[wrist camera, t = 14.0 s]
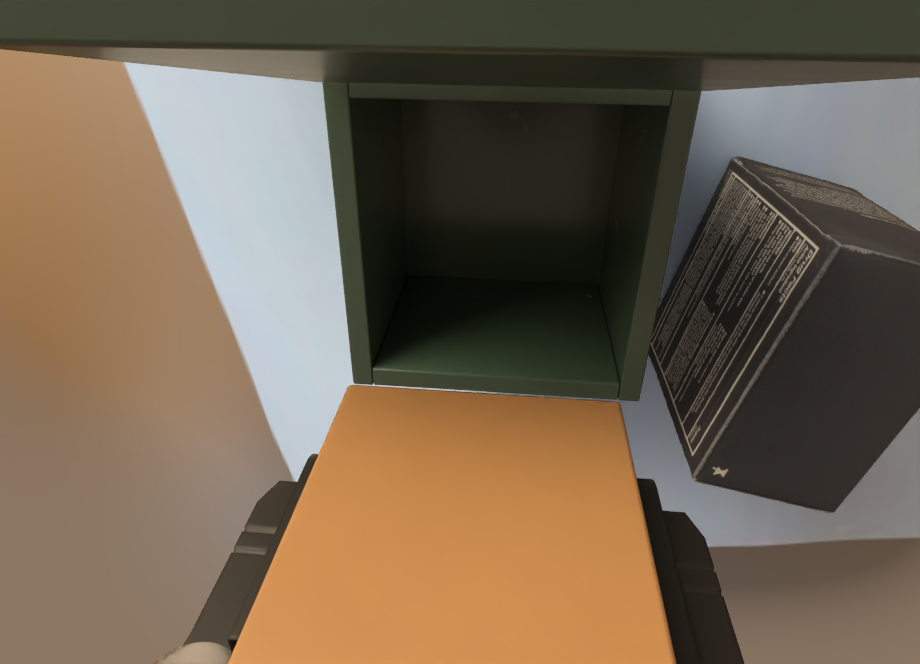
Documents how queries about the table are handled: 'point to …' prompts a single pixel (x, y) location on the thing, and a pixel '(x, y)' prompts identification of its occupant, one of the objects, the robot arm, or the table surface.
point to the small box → (790, 337)
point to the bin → (505, 232)
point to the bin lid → (489, 40)
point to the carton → (464, 539)
